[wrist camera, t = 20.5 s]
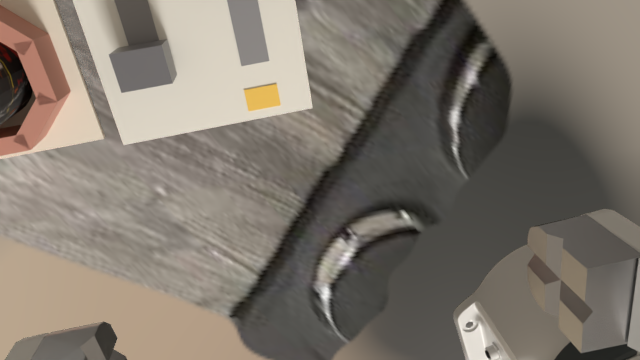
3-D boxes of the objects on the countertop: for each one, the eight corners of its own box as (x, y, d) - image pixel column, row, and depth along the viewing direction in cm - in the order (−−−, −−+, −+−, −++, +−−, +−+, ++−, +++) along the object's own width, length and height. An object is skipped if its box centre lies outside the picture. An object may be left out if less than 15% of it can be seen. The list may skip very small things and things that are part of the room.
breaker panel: (306, 98, 38) (313, 109, 35) (131, 132, 37) (122, 147, 34) (268, -136, 32) (272, -147, 28) (51, -104, 30) (30, -112, 27)
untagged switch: (177, 74, 33) (172, 83, 30) (130, 83, 32) (121, 93, 30) (167, 38, 32) (161, 45, 29) (118, 47, 31) (108, 54, 29)
